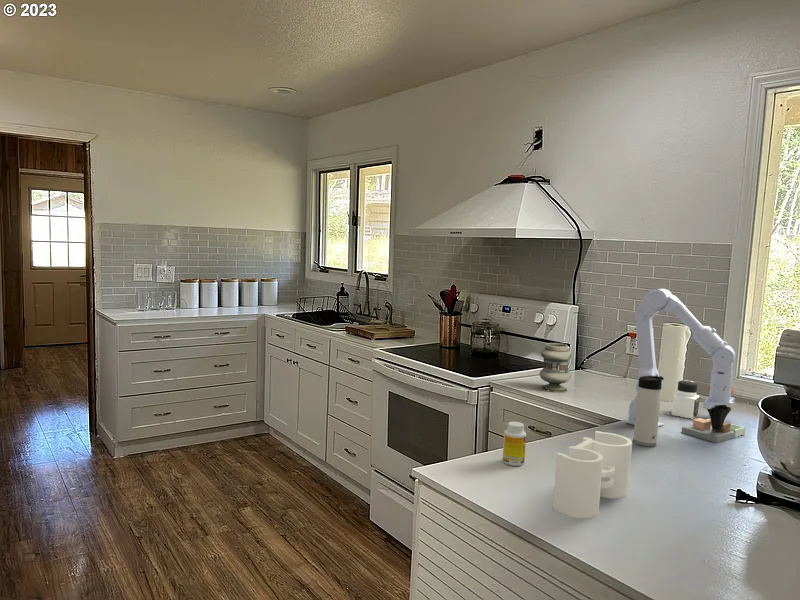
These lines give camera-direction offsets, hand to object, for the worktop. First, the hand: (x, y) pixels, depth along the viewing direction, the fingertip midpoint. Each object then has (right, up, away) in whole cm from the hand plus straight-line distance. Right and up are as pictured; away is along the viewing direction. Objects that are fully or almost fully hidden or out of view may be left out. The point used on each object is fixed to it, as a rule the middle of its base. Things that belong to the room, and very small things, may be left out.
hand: (716, 429), depth 186 cm
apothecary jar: (-36, +4, +54) cm, 65 cm away
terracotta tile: (-3, 0, +4) cm, 5 cm away
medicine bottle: (+2, -1, +25) cm, 25 cm away
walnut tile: (+2, -1, +2) cm, 3 cm away
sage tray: (+6, -2, +7) cm, 10 cm away
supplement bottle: (-68, -2, -31) cm, 75 cm away
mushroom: (+12, -2, +22) cm, 26 cm away
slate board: (-1, -2, +3) cm, 4 cm away
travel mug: (-26, -3, -9) cm, 27 cm away
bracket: (-54, -5, -50) cm, 74 cm away
